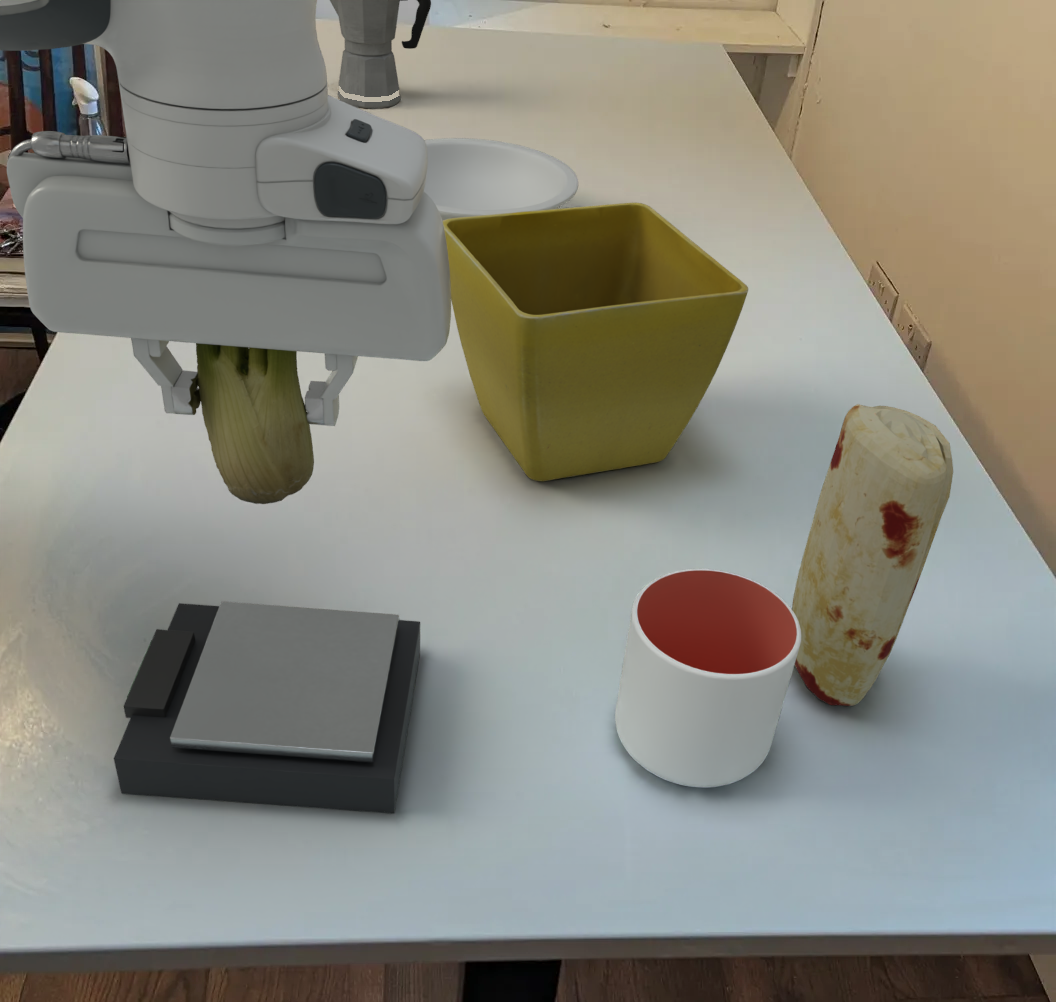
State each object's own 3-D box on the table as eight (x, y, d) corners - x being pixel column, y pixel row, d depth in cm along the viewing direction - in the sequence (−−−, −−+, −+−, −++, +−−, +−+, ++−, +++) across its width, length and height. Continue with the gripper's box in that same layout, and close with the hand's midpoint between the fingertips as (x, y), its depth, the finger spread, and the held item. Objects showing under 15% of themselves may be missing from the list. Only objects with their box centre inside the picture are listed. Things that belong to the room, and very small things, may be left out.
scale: (112, 793, 69) (102, 749, 67) (176, 636, 80) (169, 594, 77) (394, 813, 69) (394, 771, 67) (420, 654, 80) (420, 613, 78)
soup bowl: (408, 284, 125) (408, 223, 121) (340, 201, 141) (338, 145, 137) (608, 260, 133) (615, 202, 129) (522, 184, 150) (526, 131, 146)
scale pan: (170, 747, 68) (169, 738, 67) (222, 609, 77) (221, 600, 77) (373, 763, 68) (373, 753, 67) (399, 623, 77) (399, 614, 77)
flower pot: (432, 396, 107) (436, 216, 96) (621, 371, 113) (644, 198, 103) (508, 513, 94) (522, 318, 83) (717, 476, 100) (754, 291, 89)
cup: (784, 796, 72) (822, 677, 66) (624, 798, 71) (646, 678, 65) (748, 684, 80) (778, 567, 74) (602, 684, 79) (620, 566, 73)
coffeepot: (318, 105, 169) (312, -35, 157) (329, 86, 176) (324, -50, 165) (426, 114, 169) (427, -26, 158) (432, 94, 176) (434, -40, 165)
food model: (756, 634, 84) (819, 385, 72) (842, 625, 86) (919, 380, 73) (810, 731, 77) (891, 474, 64) (903, 720, 78) (1000, 466, 66)
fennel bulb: (197, 477, 65) (169, 270, 57) (274, 449, 68) (257, 248, 60) (254, 527, 62) (233, 315, 54) (332, 495, 64) (323, 289, 57)
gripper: (-30, 151, 50) (33, 430, 59) (447, 190, 51) (440, 462, 59) (24, 105, 55) (75, 370, 64) (459, 141, 56) (451, 399, 64)
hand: (254, 414), depth 62 cm, fingers closed on fennel bulb, 6 cm apart
